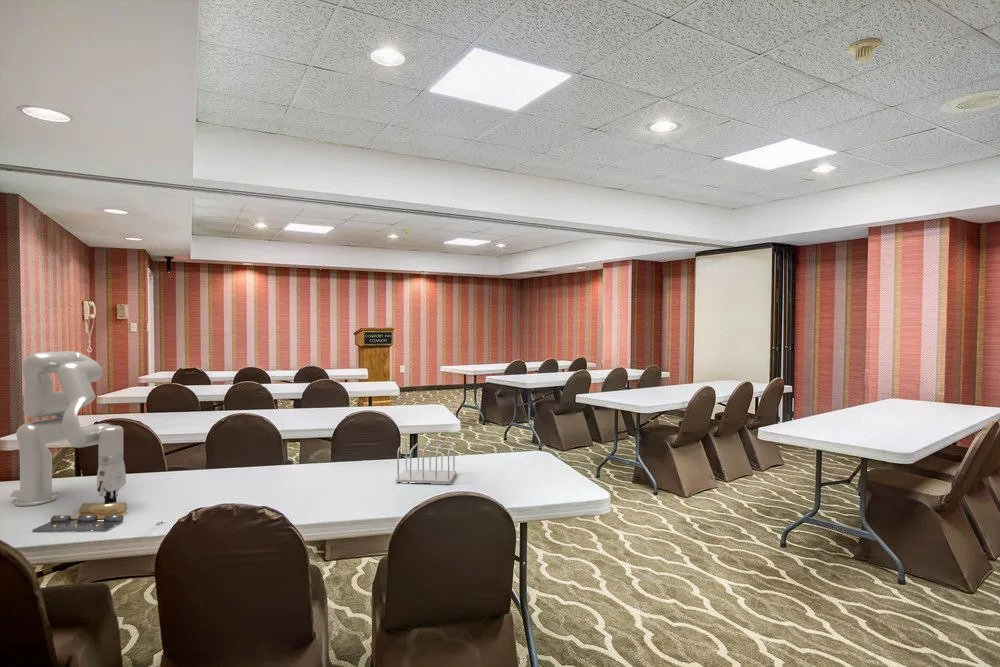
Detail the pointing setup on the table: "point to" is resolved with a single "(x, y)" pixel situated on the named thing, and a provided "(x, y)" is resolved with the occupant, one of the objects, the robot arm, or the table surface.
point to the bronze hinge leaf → (100, 510)
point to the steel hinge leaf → (79, 523)
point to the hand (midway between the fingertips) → (110, 507)
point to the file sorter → (426, 475)
